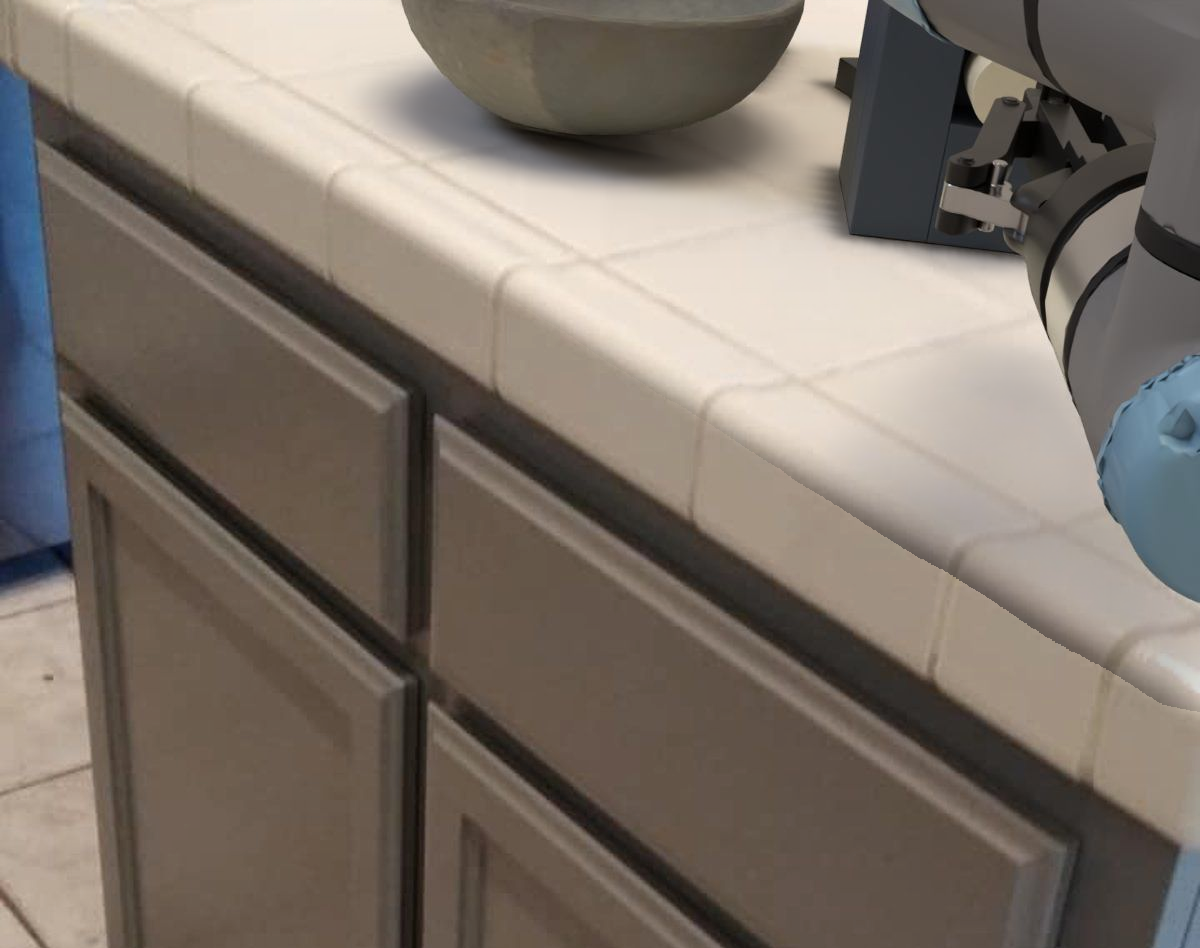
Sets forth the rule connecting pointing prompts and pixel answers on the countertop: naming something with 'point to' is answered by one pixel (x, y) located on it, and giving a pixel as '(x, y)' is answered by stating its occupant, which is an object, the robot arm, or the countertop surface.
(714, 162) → the countertop surface
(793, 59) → the countertop surface
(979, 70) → the power button
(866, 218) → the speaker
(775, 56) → the bowl
